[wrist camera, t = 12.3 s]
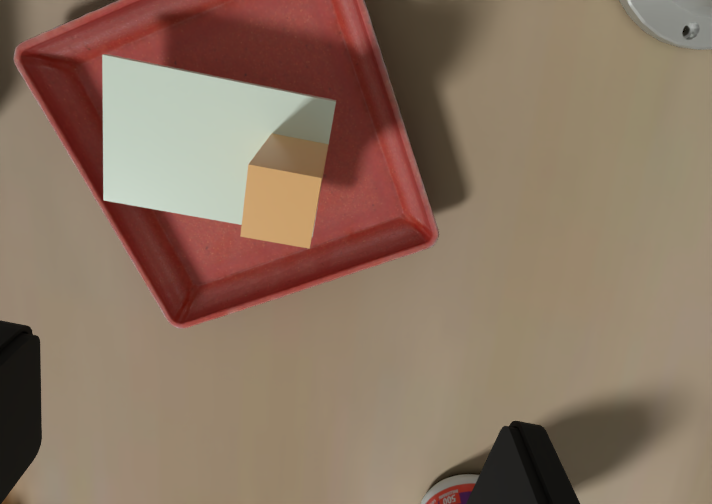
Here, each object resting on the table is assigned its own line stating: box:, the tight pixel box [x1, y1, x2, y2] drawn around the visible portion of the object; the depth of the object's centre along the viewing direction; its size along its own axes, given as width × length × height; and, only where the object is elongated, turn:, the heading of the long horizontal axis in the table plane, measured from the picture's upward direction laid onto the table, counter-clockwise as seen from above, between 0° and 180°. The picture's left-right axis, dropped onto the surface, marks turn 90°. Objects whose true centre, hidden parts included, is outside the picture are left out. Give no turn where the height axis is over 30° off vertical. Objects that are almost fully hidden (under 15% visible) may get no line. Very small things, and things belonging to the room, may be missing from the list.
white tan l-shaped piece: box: [102, 54, 336, 249], centre depth 24 cm, size 8×12×8 cm, turn 79°
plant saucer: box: [13, 0, 439, 328], centre depth 29 cm, size 18×18×3 cm
